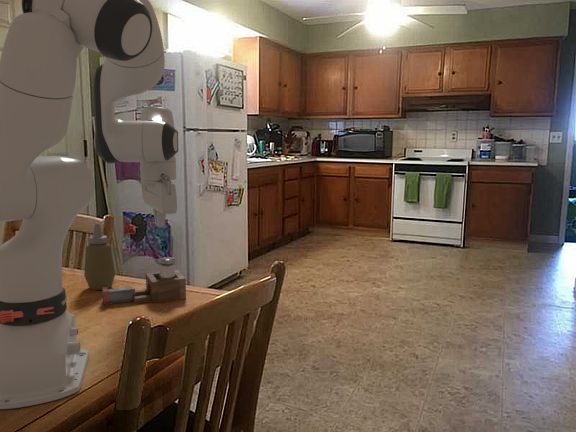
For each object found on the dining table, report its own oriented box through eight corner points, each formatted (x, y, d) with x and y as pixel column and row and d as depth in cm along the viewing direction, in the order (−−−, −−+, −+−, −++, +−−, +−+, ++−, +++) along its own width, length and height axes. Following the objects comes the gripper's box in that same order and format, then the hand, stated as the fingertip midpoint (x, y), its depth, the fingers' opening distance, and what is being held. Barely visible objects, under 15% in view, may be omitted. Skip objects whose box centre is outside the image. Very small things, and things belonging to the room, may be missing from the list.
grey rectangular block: (135, 301, 131) (135, 288, 130) (104, 305, 128) (103, 291, 127) (133, 297, 134) (132, 284, 133) (102, 301, 131) (102, 287, 130)
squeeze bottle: (122, 285, 144) (119, 222, 141) (100, 293, 137) (97, 227, 134) (100, 281, 147) (97, 220, 144) (78, 289, 140) (74, 224, 137)
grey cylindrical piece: (178, 297, 135) (178, 260, 133) (160, 299, 133) (159, 262, 131) (174, 292, 139) (174, 256, 137) (156, 294, 137) (156, 258, 135)
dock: (186, 298, 134) (185, 278, 133) (135, 305, 128) (135, 284, 127) (178, 289, 142) (177, 269, 141) (130, 294, 136) (129, 274, 135)
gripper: (182, 175, 122) (184, 232, 125) (160, 169, 140) (161, 218, 142) (156, 176, 119) (158, 234, 122) (136, 169, 137) (138, 220, 139)
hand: (160, 225), depth 132 cm, fingers closed
